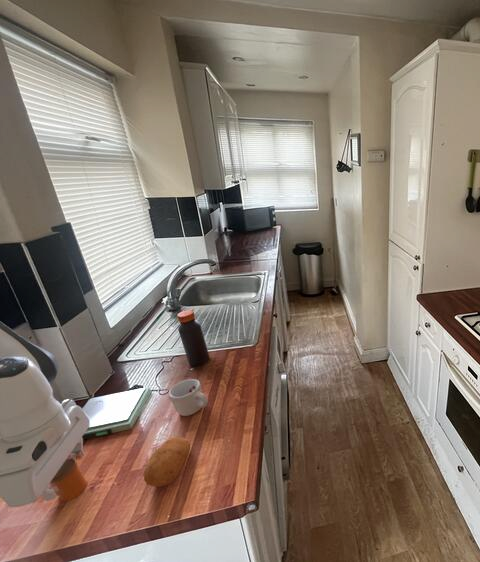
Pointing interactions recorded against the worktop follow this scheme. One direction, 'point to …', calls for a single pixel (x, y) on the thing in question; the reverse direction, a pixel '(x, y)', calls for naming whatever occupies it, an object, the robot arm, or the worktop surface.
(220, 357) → the worktop surface
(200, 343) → the bottle
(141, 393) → the scale
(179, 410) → the cup
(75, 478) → the spice jar
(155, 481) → the potato
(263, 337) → the worktop surface
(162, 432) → the worktop surface
